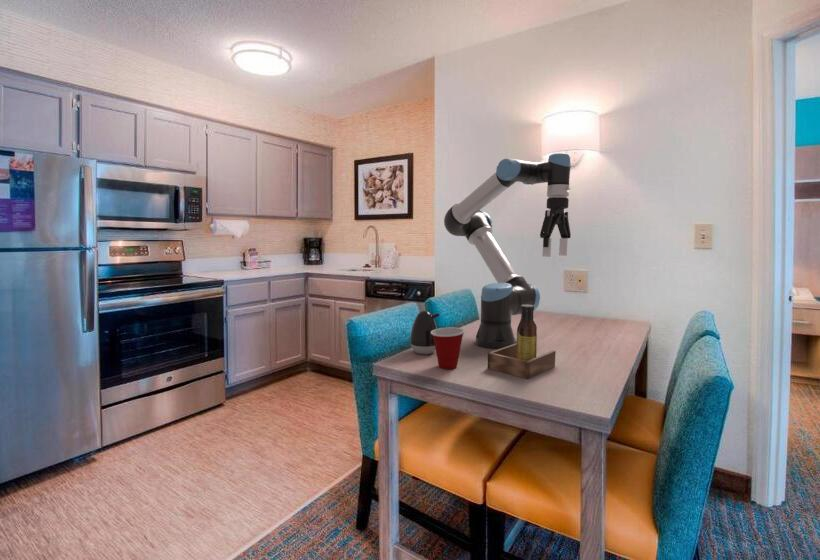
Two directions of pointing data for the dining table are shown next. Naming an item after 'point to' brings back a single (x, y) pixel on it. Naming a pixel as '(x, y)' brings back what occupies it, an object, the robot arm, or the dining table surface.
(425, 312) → the pump dispenser
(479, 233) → the robot arm
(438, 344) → the plastic cup
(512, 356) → the frame
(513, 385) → the dining table surface
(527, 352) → the sauce bottle
